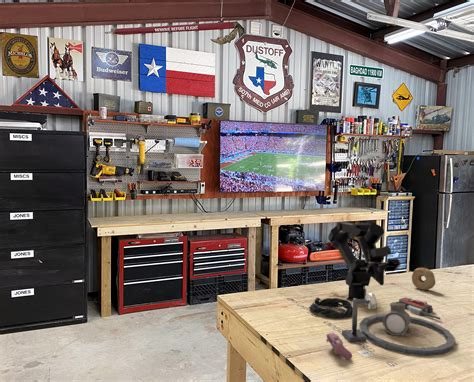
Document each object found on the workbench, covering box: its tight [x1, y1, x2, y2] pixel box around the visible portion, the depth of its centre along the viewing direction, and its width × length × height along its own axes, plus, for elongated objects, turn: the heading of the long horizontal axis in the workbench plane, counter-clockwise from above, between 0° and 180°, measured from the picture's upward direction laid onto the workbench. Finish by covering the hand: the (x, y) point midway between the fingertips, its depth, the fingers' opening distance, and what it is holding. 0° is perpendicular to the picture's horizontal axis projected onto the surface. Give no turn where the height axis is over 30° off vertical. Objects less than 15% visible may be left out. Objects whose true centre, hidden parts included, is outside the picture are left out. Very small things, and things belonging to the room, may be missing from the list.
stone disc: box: [411, 267, 437, 291], centre depth 195 cm, size 10×4×10 cm, turn 46°
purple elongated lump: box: [325, 331, 353, 360], centre depth 130 cm, size 10×5×7 cm, turn 5°
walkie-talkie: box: [397, 297, 441, 320], centre depth 167 cm, size 9×4×20 cm
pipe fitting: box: [382, 301, 411, 337], centre depth 148 cm, size 12×8×10 cm
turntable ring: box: [358, 313, 456, 356], centre depth 144 cm, size 30×30×2 cm
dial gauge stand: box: [341, 293, 378, 343], centre depth 140 cm, size 9×6×15 cm, turn 100°
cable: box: [308, 297, 353, 319], centre depth 164 cm, size 17×14×4 cm
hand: (382, 284), depth 159 cm, fingers closed
